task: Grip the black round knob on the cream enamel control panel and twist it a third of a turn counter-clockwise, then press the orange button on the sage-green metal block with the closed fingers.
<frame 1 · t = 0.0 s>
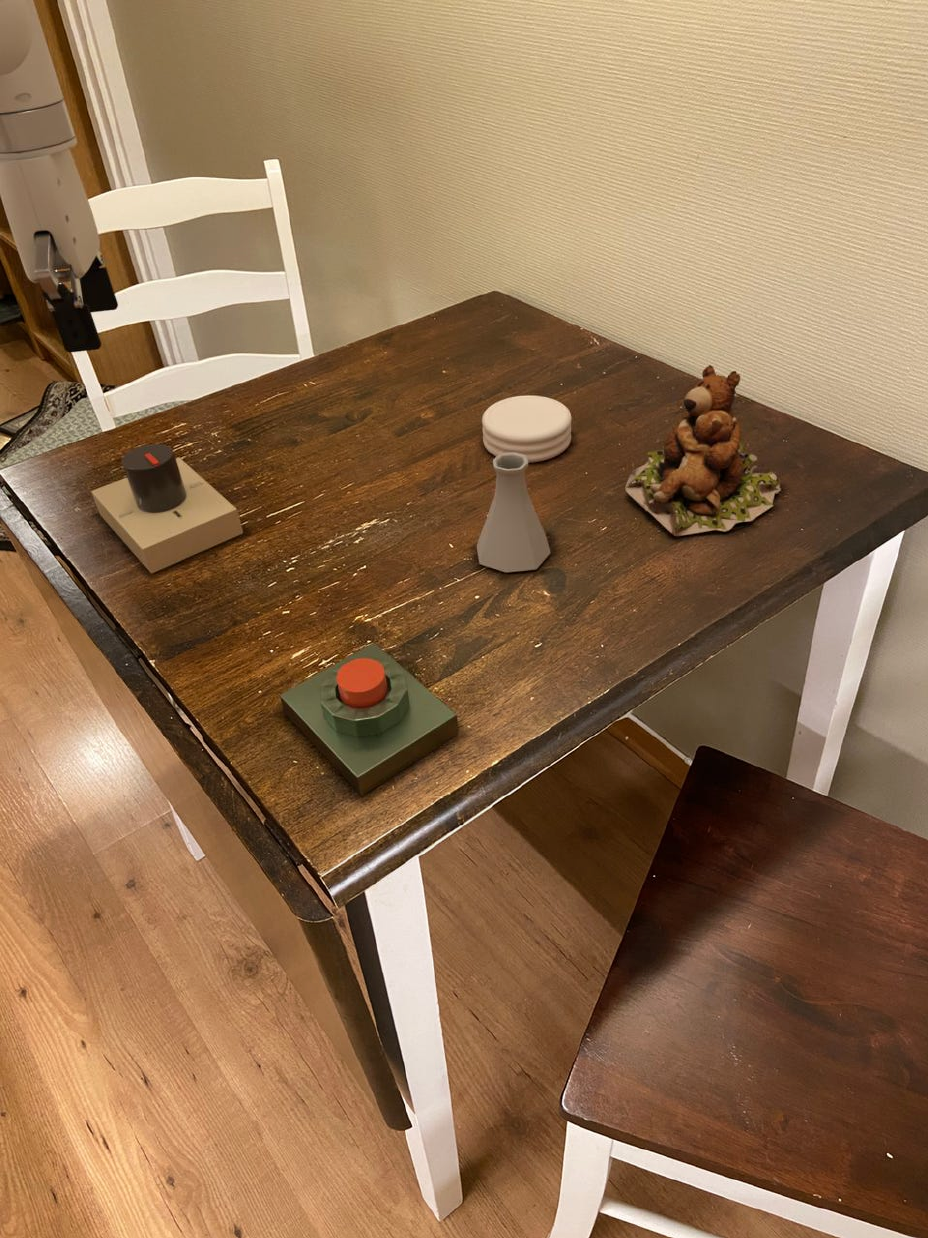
hand: (93, 328, 85), 19 cm above the table, tool pointing down, fingers open, 9 cm apart
flask: (513, 553, 85), on the table
button: (362, 683, 66), point 4 cm above the table, slide at 0.1 cm
bear figurine: (697, 497, 90), on the table
button block: (370, 723, 69), on the table
knob: (154, 476, 88), point 6 cm above the table, hinge at 0.0°
panel: (170, 523, 92), on the table
coaster: (527, 443, 100), on the table
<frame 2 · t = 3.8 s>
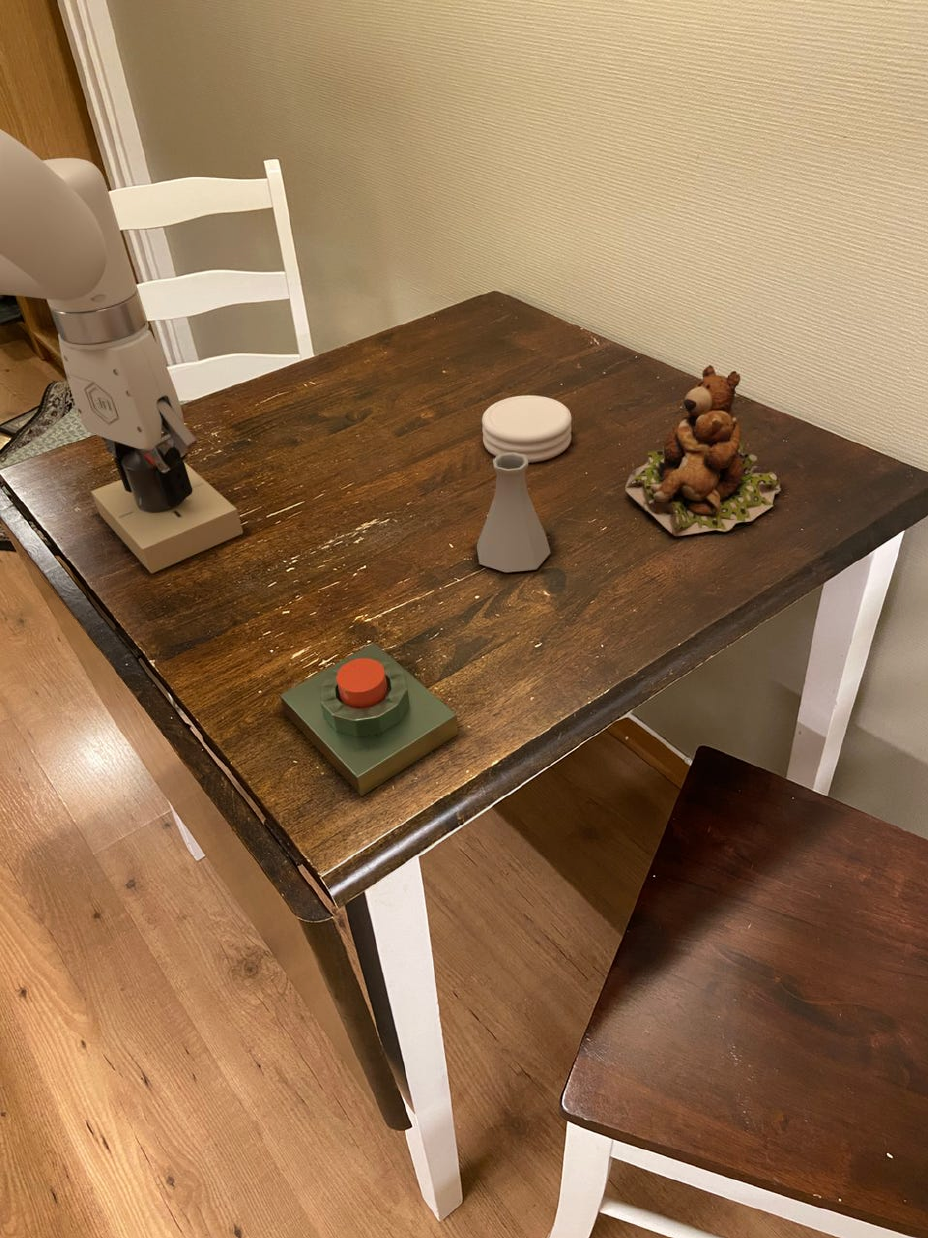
hand: (159, 491, 89), 4 cm above the table, tool pointing down, fingers closed on knob, 5 cm apart
knob: (154, 476, 88), point 6 cm above the table, hinge at 0.0°, touching gripper
everything else where it was.
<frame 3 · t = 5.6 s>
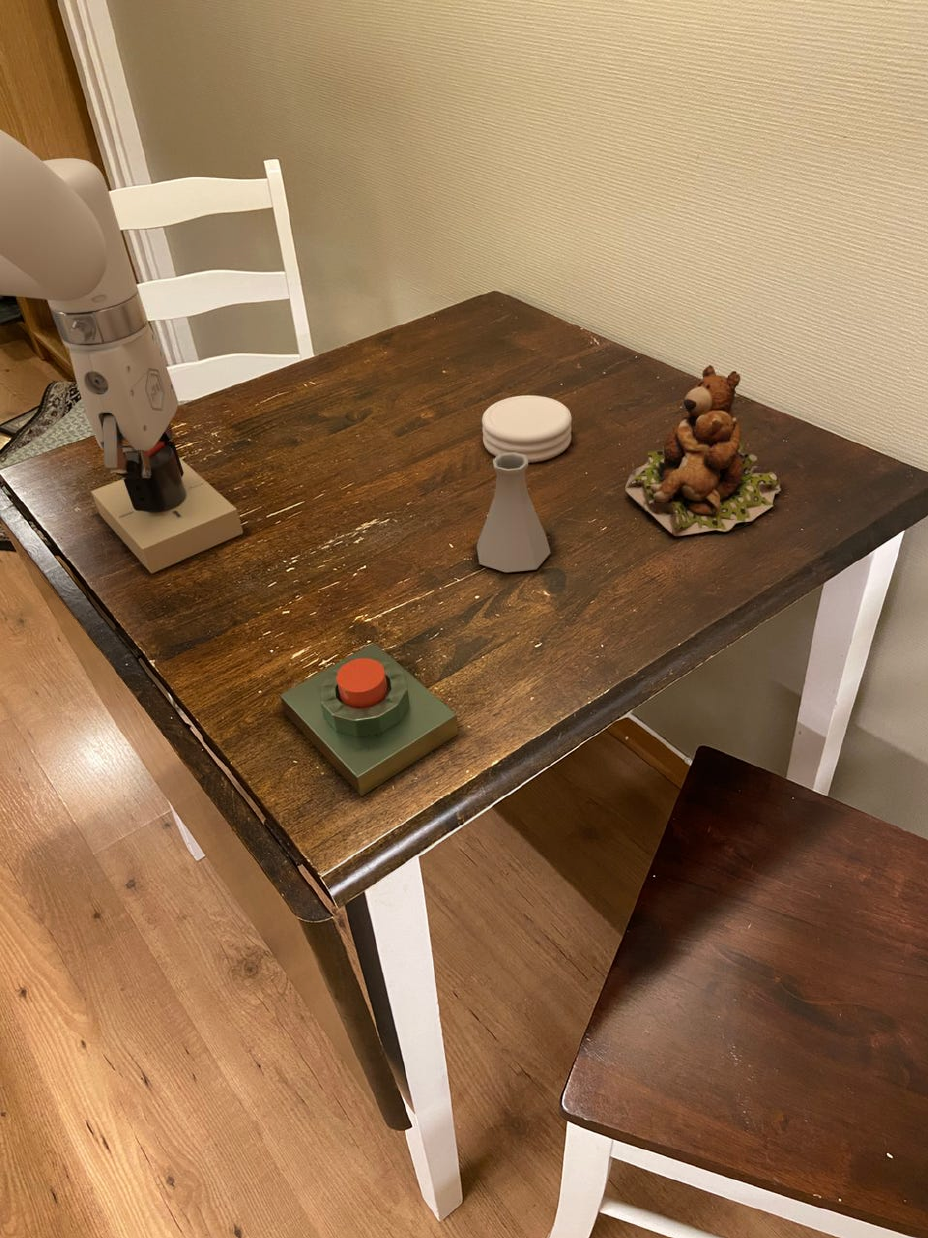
hand: (159, 491, 89), 4 cm above the table, tool pointing down, fingers closed on knob, 5 cm apart
knob: (154, 476, 88), point 6 cm above the table, hinge at 120.1°, touching gripper
everything else where it was.
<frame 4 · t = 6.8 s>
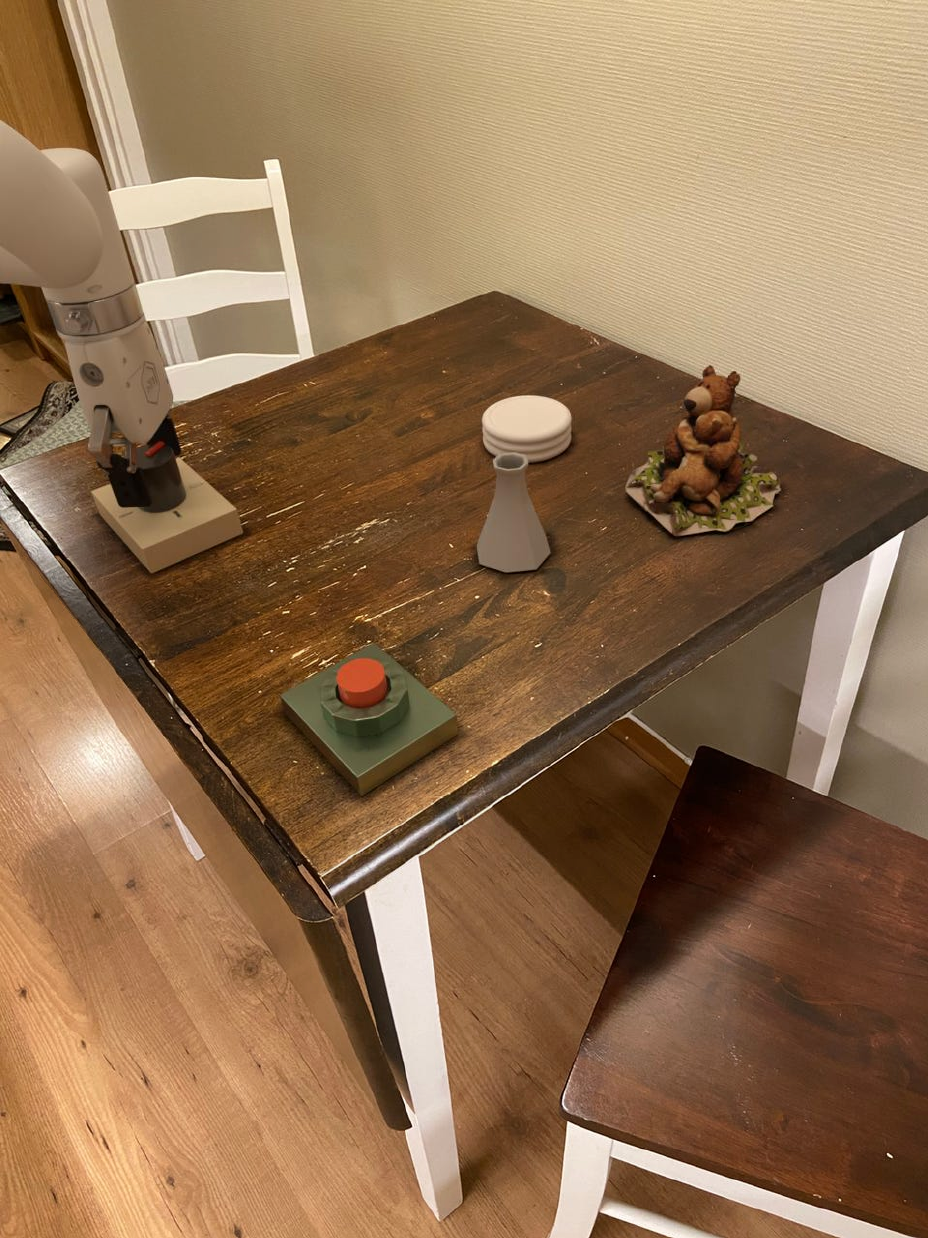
hand: (152, 479, 88), 6 cm above the table, tool pointing down, fingers open, 9 cm apart
knob: (154, 476, 88), point 6 cm above the table, hinge at 120.6°
everything else where it was.
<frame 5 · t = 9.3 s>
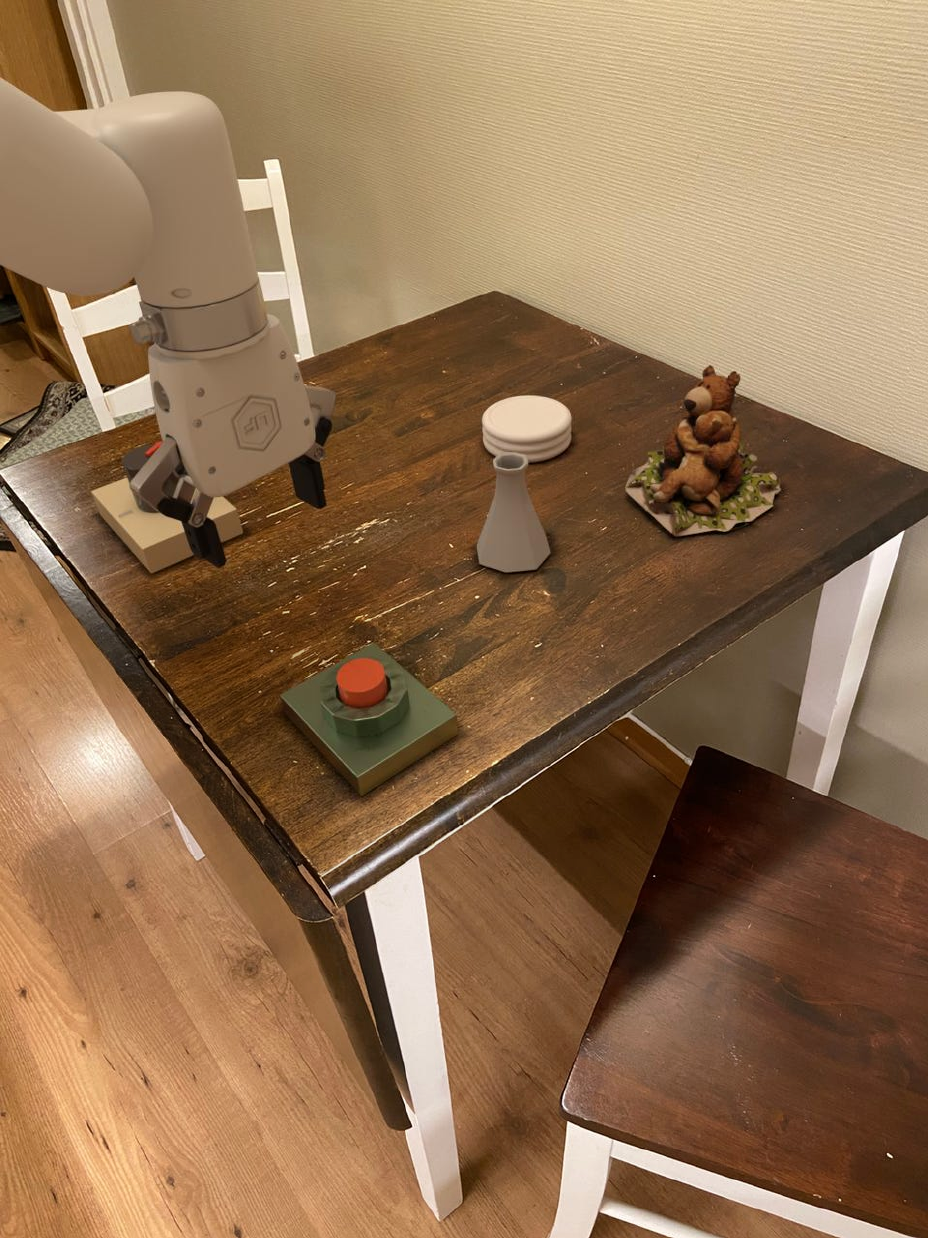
hand: (263, 529, 69), 12 cm above the table, tool pointing down, fingers open, 9 cm apart
nothing on the table moved.
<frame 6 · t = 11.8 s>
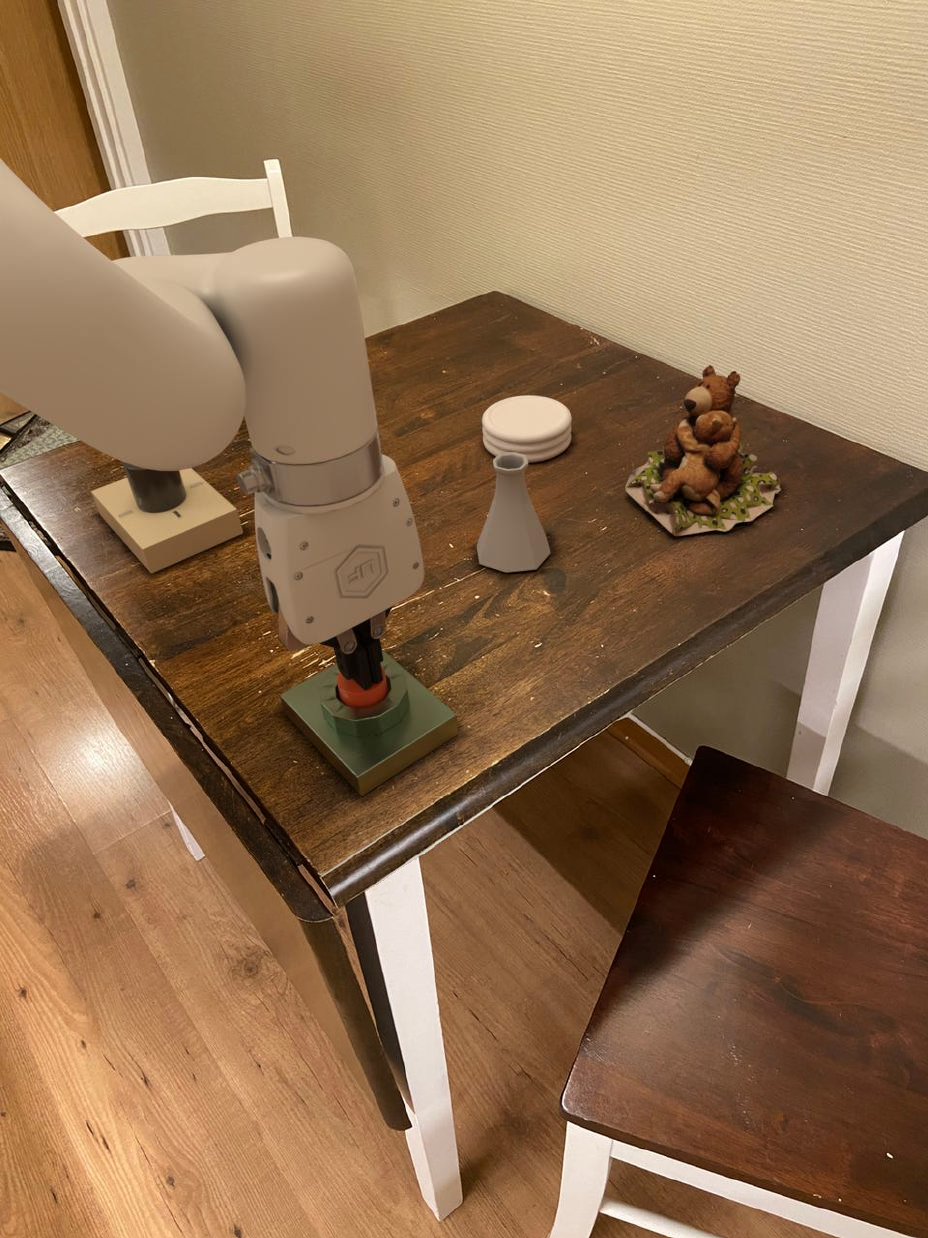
hand: (363, 675, 65), 5 cm above the table, tool pointing down, fingers closed
button: (362, 684, 66), point 4 cm above the table, slide at -0.1 cm, touching gripper
everything else where it was.
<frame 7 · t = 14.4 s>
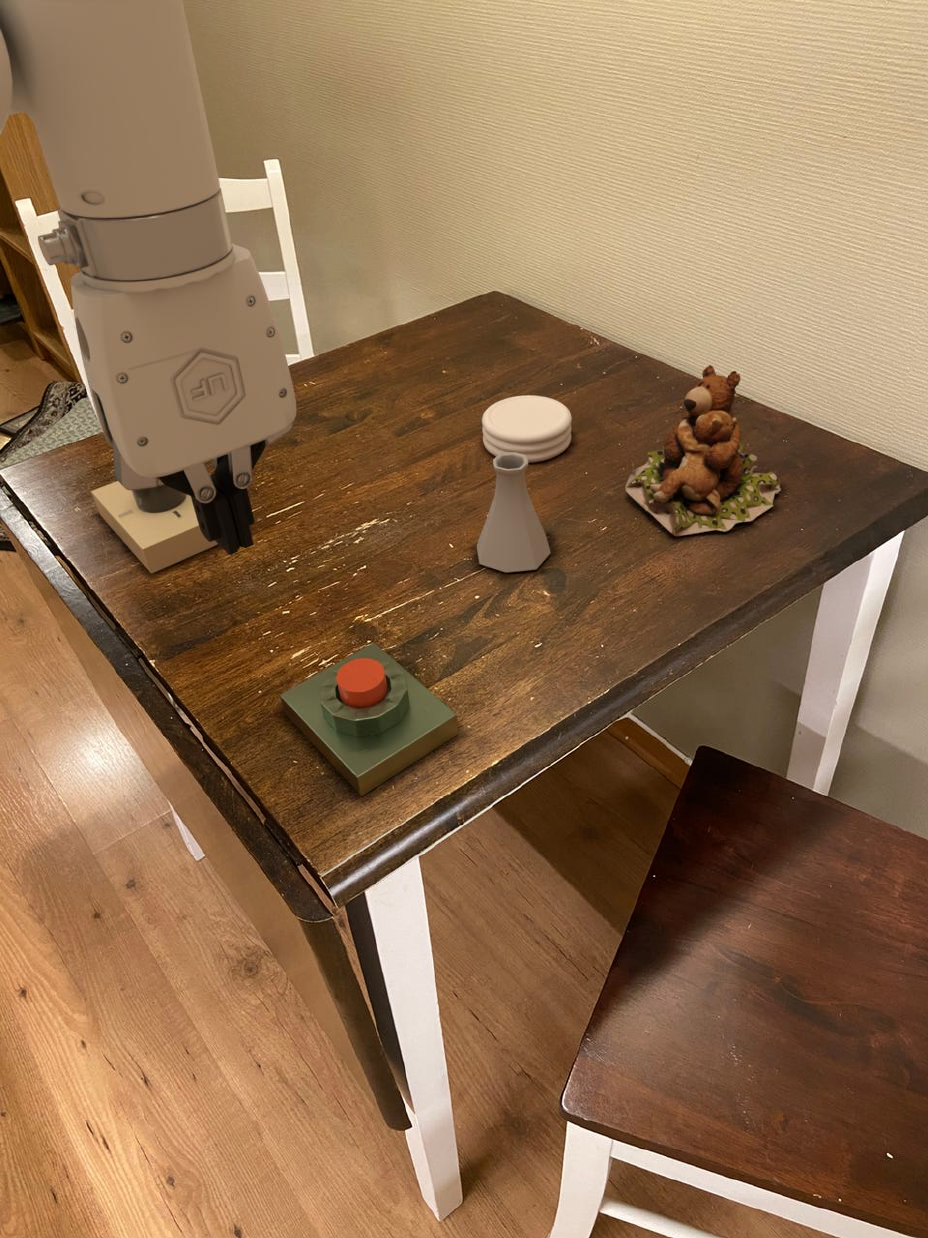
hand: (231, 540, 55), 19 cm above the table, tool pointing down, fingers closed
button: (362, 683, 66), point 4 cm above the table, slide at 0.1 cm
everything else where it was.
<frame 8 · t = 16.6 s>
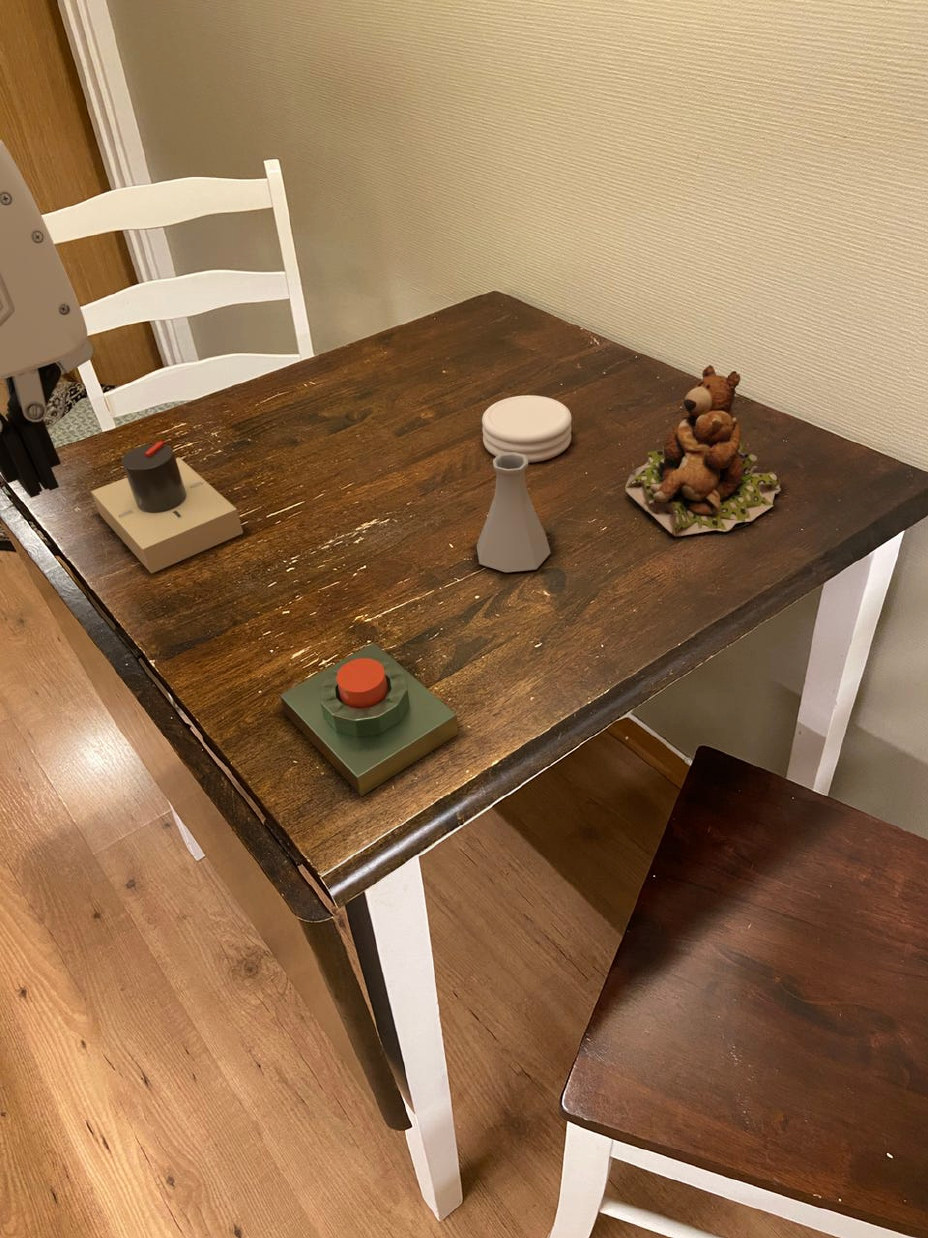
hand: (37, 483, 50), 25 cm above the table, tool pointing down, fingers closed
nothing on the table moved.
at the end: knob at +121° (first picture: +0°); button pushed in 1.1 cm at the most during the clip, back to where it started at the end; button slide at 0.1 cm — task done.
